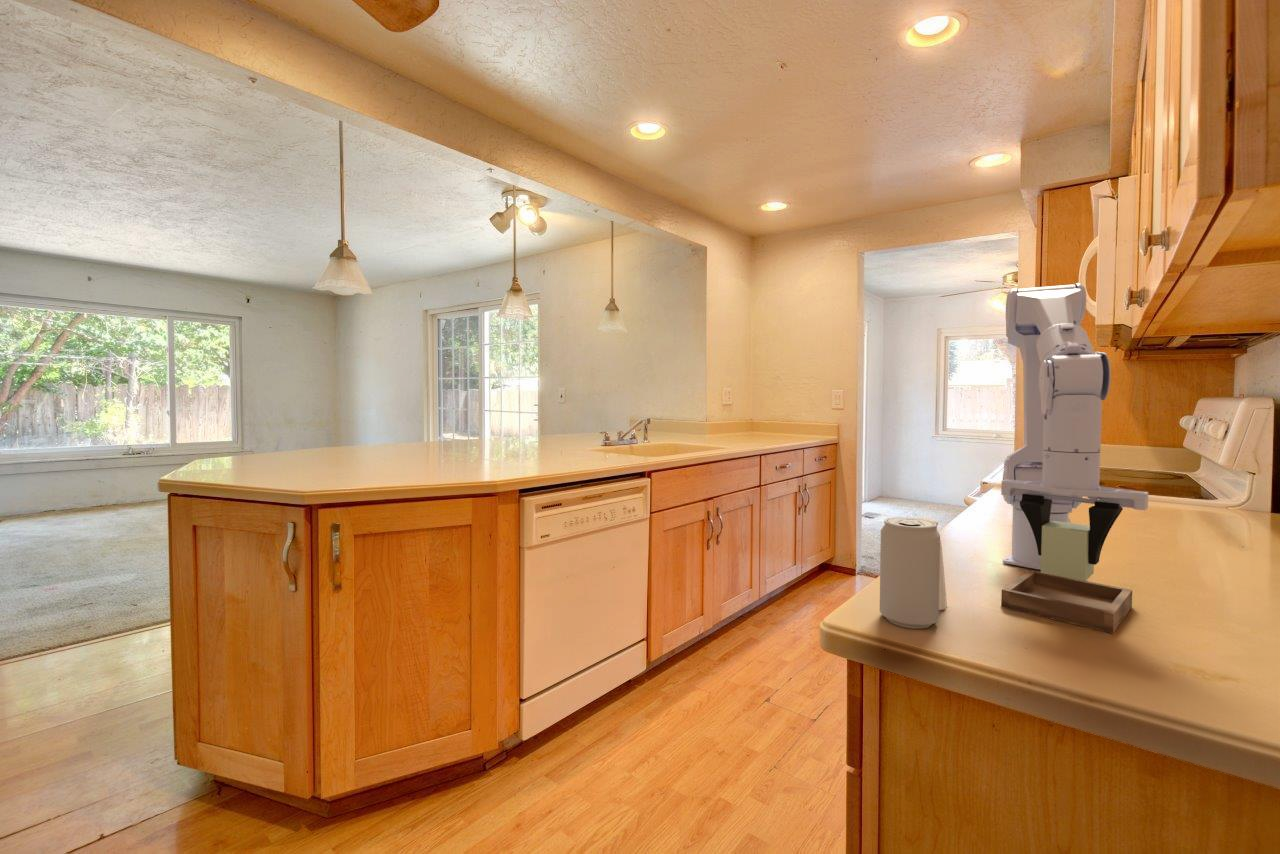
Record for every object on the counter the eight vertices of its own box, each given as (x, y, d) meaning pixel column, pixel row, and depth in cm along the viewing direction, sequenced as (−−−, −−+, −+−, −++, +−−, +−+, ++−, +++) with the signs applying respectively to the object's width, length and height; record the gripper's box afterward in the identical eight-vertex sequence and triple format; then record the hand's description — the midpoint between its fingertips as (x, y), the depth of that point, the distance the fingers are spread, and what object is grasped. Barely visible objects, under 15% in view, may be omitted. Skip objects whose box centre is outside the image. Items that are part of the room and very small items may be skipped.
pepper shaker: (896, 595, 76) (897, 514, 75) (939, 597, 75) (941, 515, 74) (907, 610, 71) (909, 523, 70) (954, 612, 70) (956, 525, 69)
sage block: (1050, 565, 74) (1051, 520, 74) (1093, 573, 71) (1095, 526, 70) (1040, 572, 71) (1042, 525, 71) (1085, 581, 68) (1086, 531, 67)
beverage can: (877, 625, 66) (878, 524, 65) (881, 607, 72) (883, 513, 71) (938, 635, 63) (940, 529, 62) (938, 615, 69) (940, 518, 68)
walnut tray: (1029, 585, 79) (1029, 570, 79) (1131, 606, 71) (1132, 589, 71) (1001, 606, 71) (1001, 589, 71) (1112, 633, 63) (1113, 614, 63)
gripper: (994, 449, 73) (992, 552, 74) (1142, 457, 62) (1138, 578, 63) (1011, 446, 78) (1009, 543, 78) (1152, 453, 67) (1148, 566, 67)
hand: (1067, 558), depth 71 cm, fingers closed on sage block, 4 cm apart
